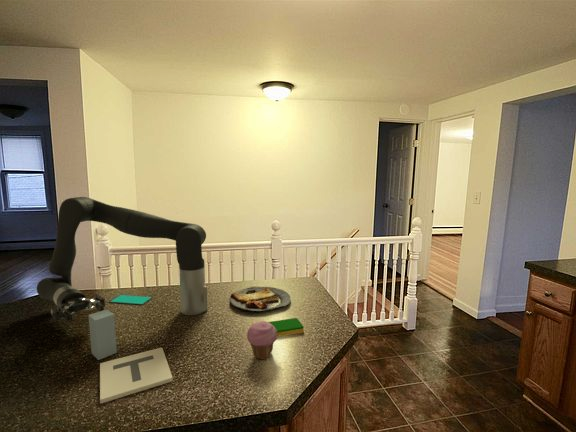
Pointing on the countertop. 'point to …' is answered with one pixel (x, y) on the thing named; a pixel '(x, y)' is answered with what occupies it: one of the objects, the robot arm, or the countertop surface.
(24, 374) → the countertop surface
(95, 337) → the grey rectangular block
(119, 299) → the smartphone
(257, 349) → the cupcake
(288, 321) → the dish sponge
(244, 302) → the food plate
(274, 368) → the countertop surface
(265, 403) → the countertop surface
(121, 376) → the board
